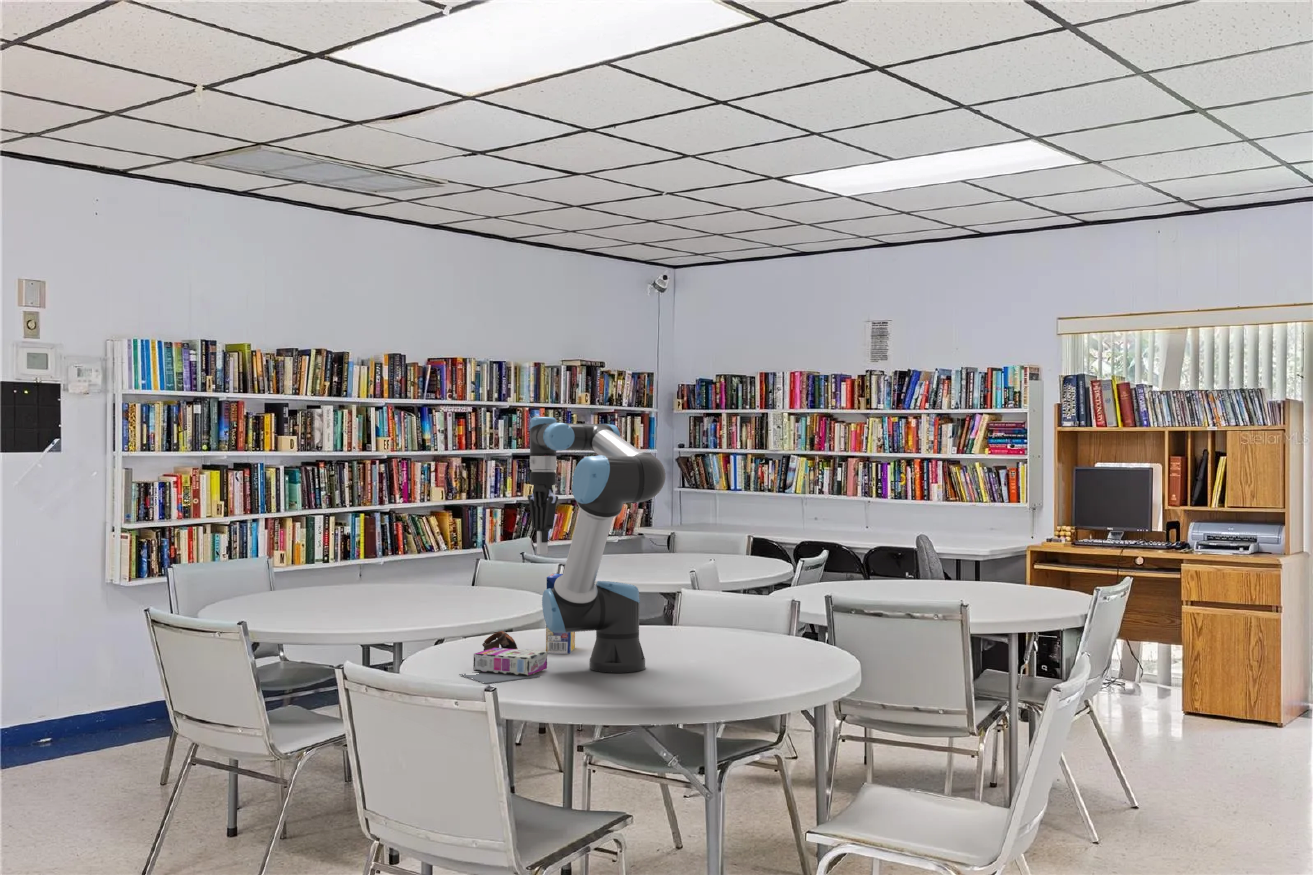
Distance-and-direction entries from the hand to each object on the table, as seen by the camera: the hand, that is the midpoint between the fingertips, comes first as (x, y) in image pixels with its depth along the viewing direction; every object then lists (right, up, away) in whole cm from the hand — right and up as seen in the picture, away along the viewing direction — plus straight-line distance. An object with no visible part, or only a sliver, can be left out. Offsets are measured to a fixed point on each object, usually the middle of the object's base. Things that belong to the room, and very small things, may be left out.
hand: (542, 553), depth 323 cm
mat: (-8, -29, -29) cm, 42 cm away
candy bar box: (-14, -26, -19) cm, 36 cm away
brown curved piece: (-12, -30, +1) cm, 32 cm away
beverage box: (+4, -30, +12) cm, 32 cm away
